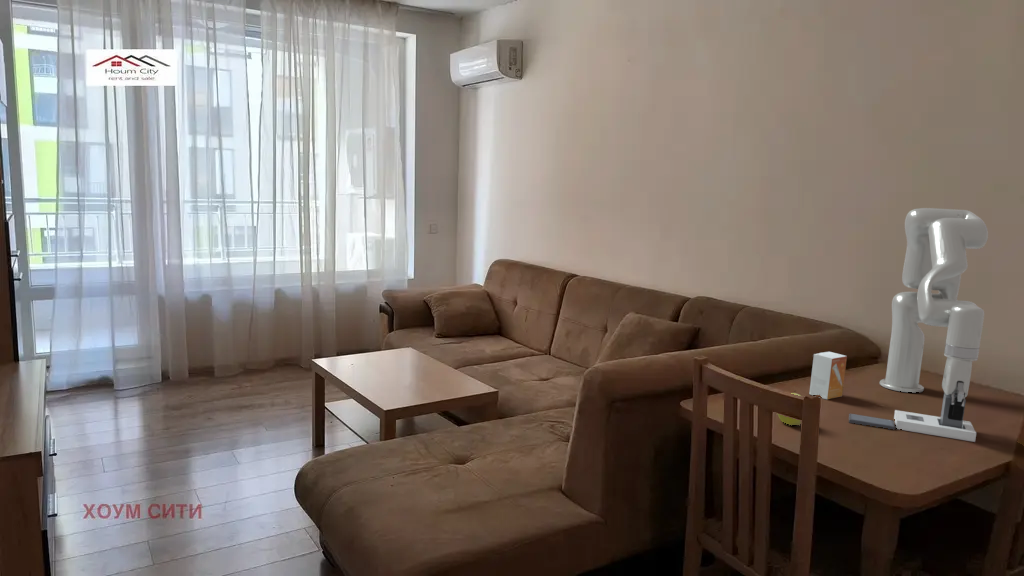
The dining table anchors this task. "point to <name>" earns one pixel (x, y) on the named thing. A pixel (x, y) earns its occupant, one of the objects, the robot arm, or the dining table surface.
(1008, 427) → the dining table surface
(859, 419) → the phone
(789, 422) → the apple
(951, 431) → the outlet plate
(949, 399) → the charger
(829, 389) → the small box
